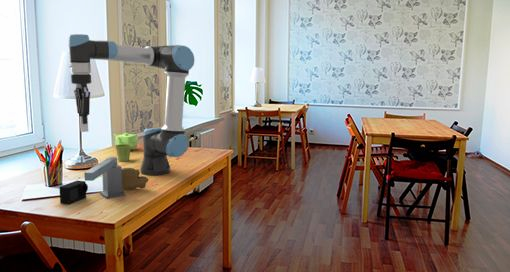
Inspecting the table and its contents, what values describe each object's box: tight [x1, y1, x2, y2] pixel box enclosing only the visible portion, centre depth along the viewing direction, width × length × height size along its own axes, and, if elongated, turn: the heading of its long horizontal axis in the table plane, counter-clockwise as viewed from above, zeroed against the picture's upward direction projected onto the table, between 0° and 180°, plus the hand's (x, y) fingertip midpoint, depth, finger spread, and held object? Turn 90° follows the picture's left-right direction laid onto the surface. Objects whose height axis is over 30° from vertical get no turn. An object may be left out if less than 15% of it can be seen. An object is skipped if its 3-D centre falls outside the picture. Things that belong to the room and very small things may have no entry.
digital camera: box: [59, 180, 89, 205], centre depth 172 cm, size 10×5×7 cm, turn 164°
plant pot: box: [114, 144, 132, 162], centre depth 245 cm, size 9×9×9 cm
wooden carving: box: [121, 167, 149, 191], centre depth 189 cm, size 16×5×10 cm, turn 98°
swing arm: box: [84, 156, 118, 182], centre depth 168 cm, size 27×4×3 cm, turn 0°
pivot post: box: [99, 164, 126, 199], centre depth 181 cm, size 8×8×12 cm
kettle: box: [112, 132, 139, 151], centre depth 274 cm, size 15×14×11 cm
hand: (84, 131), depth 176 cm, fingers closed
